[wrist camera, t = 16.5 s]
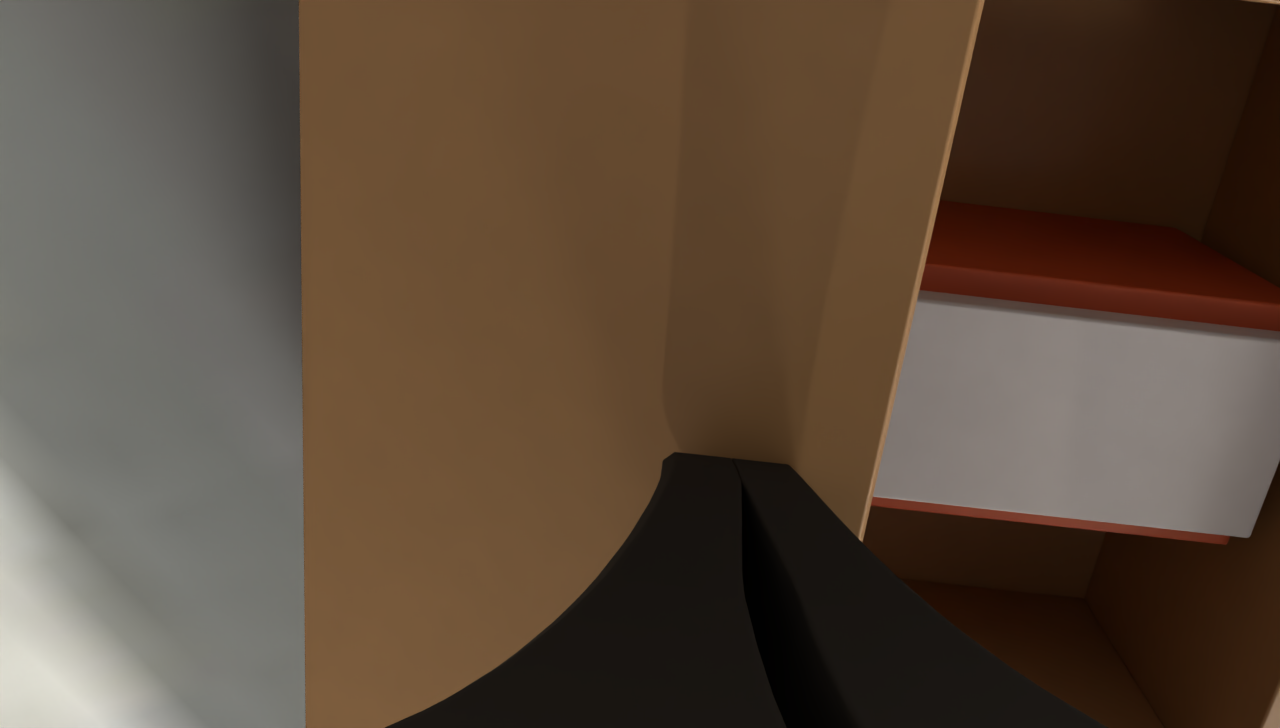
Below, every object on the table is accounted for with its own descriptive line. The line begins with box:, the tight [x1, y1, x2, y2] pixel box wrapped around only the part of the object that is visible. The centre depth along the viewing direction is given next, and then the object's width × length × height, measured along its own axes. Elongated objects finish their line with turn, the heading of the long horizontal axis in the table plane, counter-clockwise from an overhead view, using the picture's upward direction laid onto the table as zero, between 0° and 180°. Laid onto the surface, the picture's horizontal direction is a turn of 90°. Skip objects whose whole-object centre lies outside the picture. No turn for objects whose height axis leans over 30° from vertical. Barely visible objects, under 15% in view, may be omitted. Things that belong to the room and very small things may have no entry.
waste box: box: [862, 0, 1280, 728], centre depth 17 cm, size 13×15×6 cm
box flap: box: [299, 0, 985, 728], centre depth 12 cm, size 13×7×1 cm, turn 174°
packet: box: [871, 200, 1280, 545], centre depth 18 cm, size 4×6×5 cm, turn 84°
